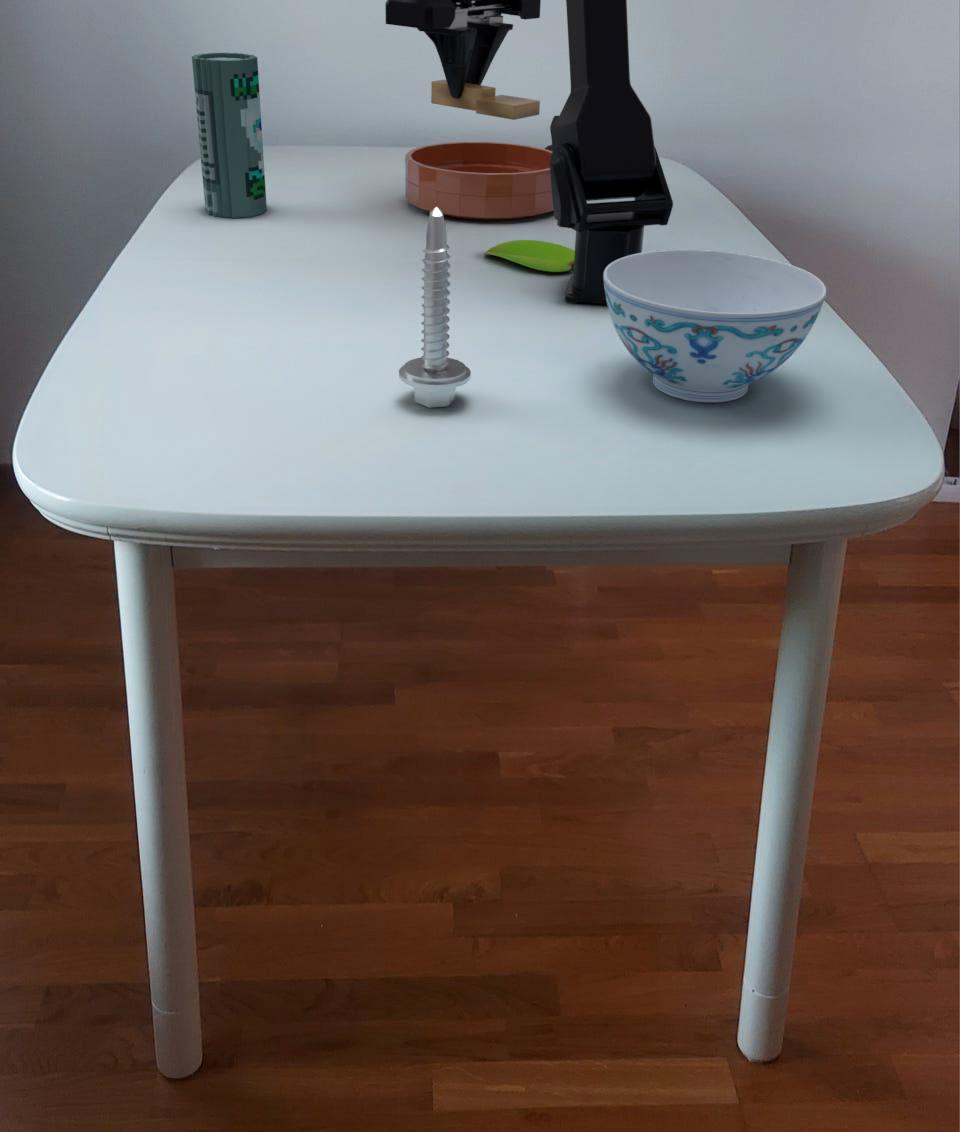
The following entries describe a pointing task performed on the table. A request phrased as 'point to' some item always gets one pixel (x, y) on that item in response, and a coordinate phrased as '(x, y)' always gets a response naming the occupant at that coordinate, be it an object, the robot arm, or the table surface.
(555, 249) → the decorative leaf
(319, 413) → the table surface
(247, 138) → the can
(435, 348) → the screw
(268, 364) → the table surface
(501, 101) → the stepped wooden block
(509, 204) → the bowl
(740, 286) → the chinaware
